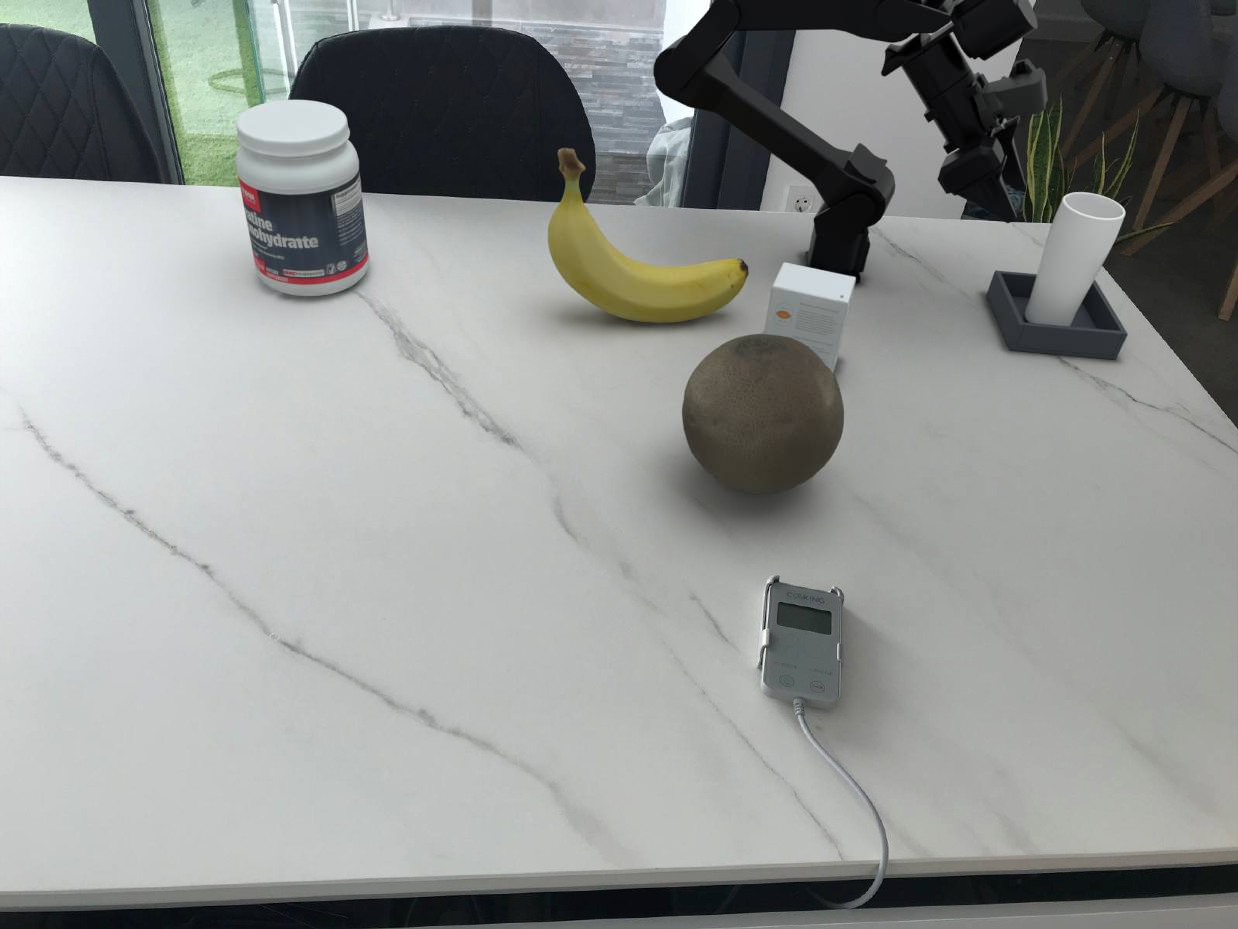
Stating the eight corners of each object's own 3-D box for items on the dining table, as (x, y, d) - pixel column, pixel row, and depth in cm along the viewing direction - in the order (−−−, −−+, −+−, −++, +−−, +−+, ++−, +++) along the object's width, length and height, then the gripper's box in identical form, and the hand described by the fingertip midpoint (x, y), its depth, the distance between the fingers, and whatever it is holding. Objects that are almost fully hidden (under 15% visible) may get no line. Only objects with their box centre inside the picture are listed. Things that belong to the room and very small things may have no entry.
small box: (837, 360, 108) (858, 276, 101) (828, 388, 104) (850, 302, 97) (766, 343, 110) (783, 259, 103) (755, 369, 106) (771, 284, 99)
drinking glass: (1040, 301, 120) (1086, 186, 110) (1087, 328, 116) (1139, 211, 106) (1004, 316, 116) (1049, 198, 107) (1052, 344, 112) (1102, 224, 103)
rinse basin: (1009, 350, 112) (1019, 324, 110) (986, 294, 121) (994, 270, 119) (1115, 359, 112) (1128, 334, 109) (1084, 303, 121) (1095, 279, 119)
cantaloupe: (697, 419, 98) (717, 289, 88) (836, 456, 95) (872, 326, 85) (654, 508, 88) (670, 372, 78) (808, 553, 85) (845, 417, 75)
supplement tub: (236, 291, 111) (202, 132, 99) (289, 239, 120) (264, 89, 108) (343, 310, 109) (321, 152, 97) (388, 256, 119) (373, 106, 107)
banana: (735, 302, 116) (762, 138, 103) (746, 329, 112) (775, 161, 98) (544, 304, 113) (547, 135, 100) (548, 332, 108) (551, 160, 95)
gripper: (1007, 67, 94) (1083, 201, 98) (1027, 17, 107) (1094, 137, 111) (904, 129, 101) (980, 252, 105) (935, 75, 114) (1001, 186, 118)
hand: (1017, 204), depth 110 cm, fingers open, 9 cm apart
